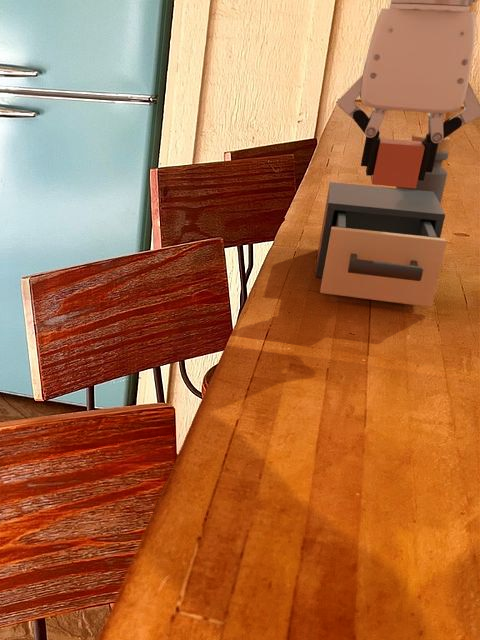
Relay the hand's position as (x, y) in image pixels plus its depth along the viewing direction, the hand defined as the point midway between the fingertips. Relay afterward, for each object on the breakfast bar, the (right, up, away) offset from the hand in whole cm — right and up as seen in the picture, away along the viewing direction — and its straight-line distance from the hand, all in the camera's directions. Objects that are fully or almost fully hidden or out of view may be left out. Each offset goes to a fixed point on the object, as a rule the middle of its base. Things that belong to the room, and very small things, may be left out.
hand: (394, 174), depth 96 cm
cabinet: (+4, -9, +15) cm, 18 cm away
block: (0, -1, 0) cm, 1 cm away
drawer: (-1, -12, +4) cm, 13 cm away
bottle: (+14, -5, +27) cm, 31 cm away
